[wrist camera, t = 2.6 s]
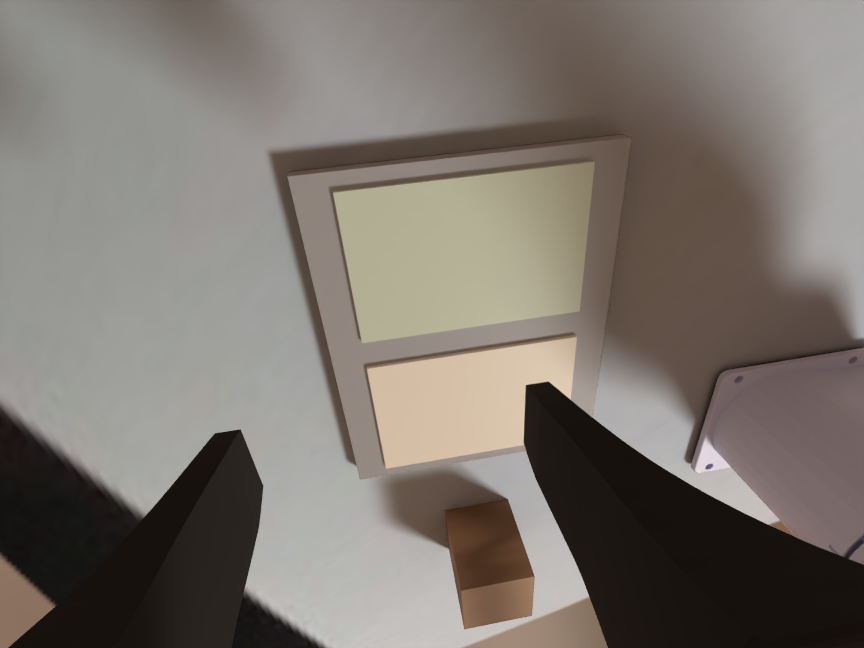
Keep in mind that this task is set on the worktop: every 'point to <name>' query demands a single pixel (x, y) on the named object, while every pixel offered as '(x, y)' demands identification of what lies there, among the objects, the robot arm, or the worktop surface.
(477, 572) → the walnut block
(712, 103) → the worktop surface
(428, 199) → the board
